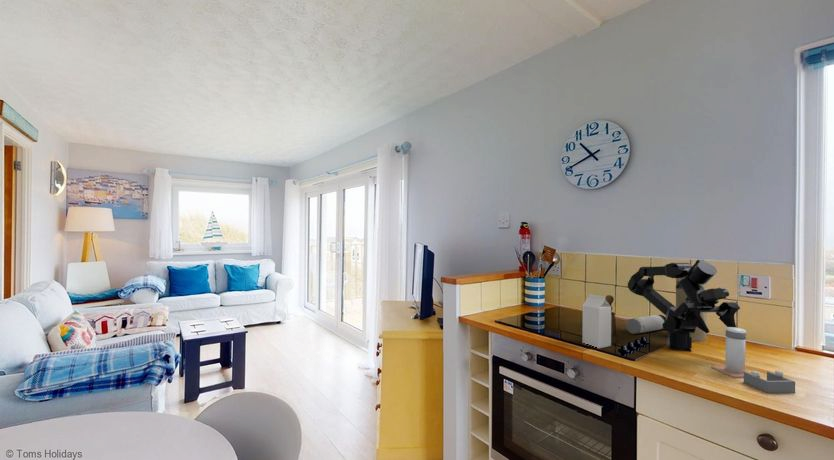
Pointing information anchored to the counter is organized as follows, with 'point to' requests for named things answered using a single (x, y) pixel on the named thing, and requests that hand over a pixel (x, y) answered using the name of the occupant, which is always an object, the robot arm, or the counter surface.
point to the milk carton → (597, 321)
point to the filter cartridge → (735, 350)
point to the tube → (699, 334)
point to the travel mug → (645, 324)
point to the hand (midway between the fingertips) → (721, 332)
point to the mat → (734, 375)
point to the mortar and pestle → (612, 321)
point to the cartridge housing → (770, 382)
